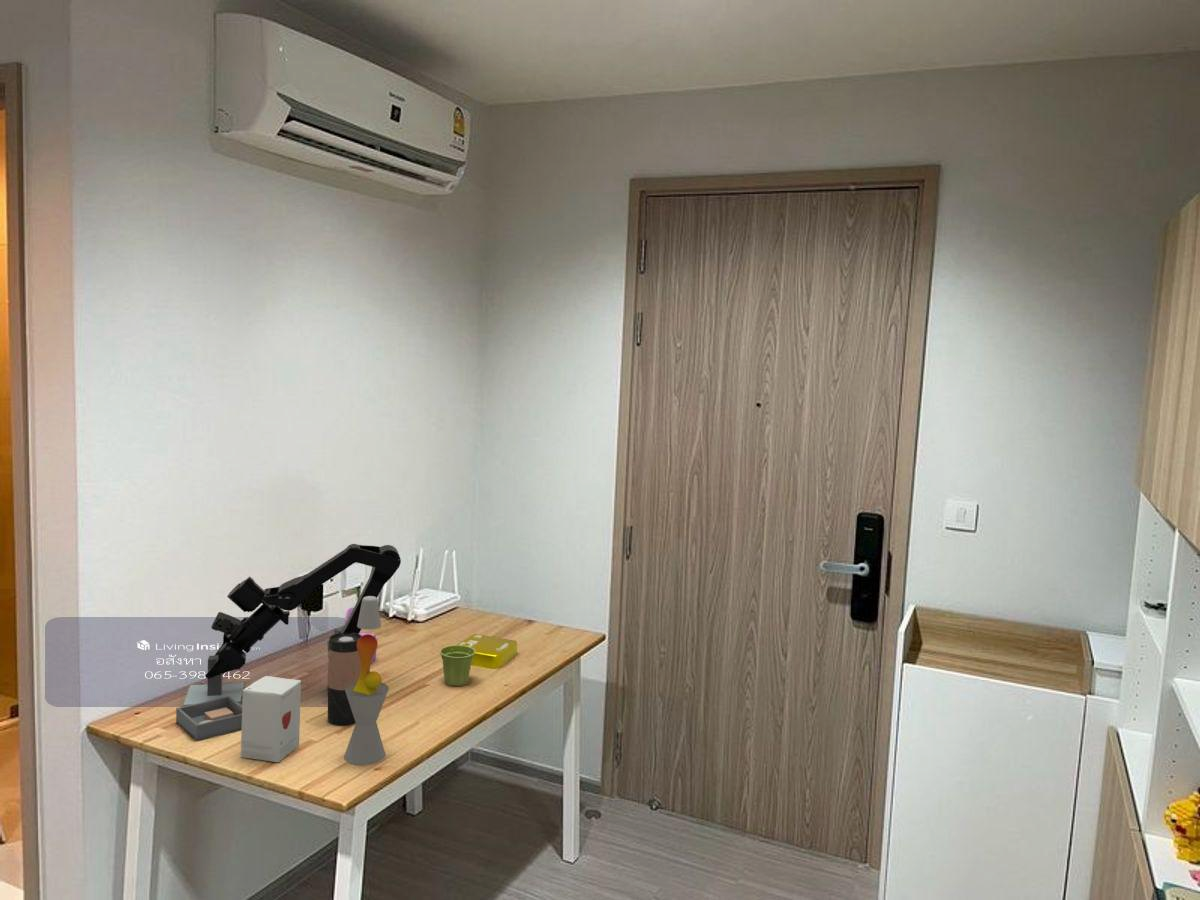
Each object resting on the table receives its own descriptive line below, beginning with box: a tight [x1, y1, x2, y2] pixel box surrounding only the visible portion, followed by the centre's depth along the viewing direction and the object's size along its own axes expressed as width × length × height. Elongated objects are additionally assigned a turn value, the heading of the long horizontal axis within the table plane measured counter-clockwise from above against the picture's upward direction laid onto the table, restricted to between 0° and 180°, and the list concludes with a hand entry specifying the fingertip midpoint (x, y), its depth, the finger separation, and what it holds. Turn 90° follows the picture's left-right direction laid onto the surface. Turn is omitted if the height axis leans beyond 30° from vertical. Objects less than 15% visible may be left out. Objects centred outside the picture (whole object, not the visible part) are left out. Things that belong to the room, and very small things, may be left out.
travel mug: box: [327, 633, 361, 727], centre depth 209 cm, size 8×8×20 cm
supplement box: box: [240, 675, 302, 764], centre depth 191 cm, size 9×9×15 cm
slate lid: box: [182, 654, 245, 707], centre depth 216 cm, size 12×12×11 cm
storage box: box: [175, 696, 242, 742], centre depth 203 cm, size 12×12×4 cm
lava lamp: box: [343, 596, 390, 766], centre depth 191 cm, size 9×9×35 cm
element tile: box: [456, 633, 518, 670], centre depth 258 cm, size 15×15×5 cm
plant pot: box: [439, 644, 476, 687], centre depth 237 cm, size 9×9×9 cm
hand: (208, 670), depth 216 cm, fingers open, 9 cm apart
